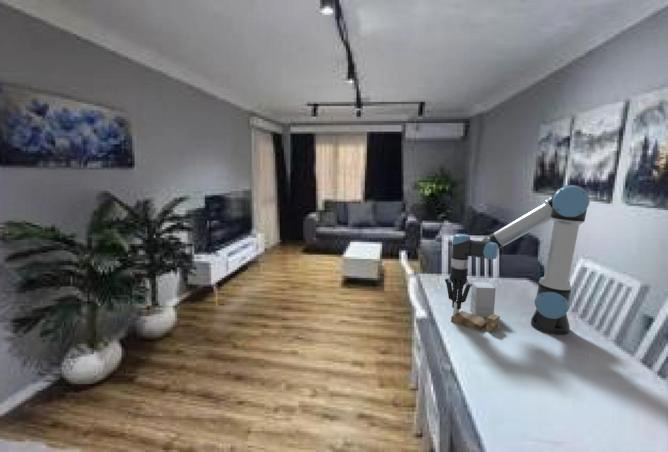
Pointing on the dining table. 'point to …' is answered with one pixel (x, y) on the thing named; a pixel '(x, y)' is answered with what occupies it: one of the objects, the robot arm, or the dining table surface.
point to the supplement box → (482, 299)
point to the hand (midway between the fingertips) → (455, 314)
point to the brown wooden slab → (469, 320)
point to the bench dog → (492, 323)
